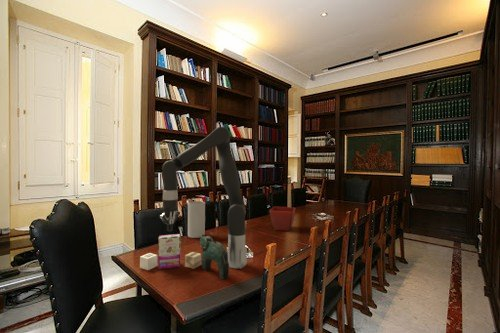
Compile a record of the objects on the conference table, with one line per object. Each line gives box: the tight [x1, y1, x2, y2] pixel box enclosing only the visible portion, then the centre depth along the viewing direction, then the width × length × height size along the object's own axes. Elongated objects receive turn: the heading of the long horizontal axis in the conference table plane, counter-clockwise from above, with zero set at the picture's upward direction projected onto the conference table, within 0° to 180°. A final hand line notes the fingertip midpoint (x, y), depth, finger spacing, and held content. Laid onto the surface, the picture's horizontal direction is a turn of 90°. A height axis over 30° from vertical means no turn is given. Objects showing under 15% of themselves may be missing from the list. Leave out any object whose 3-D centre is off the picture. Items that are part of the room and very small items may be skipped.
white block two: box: [139, 252, 158, 271], centre depth 131 cm, size 6×6×6 cm
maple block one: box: [184, 251, 202, 269], centre depth 133 cm, size 6×6×6 cm
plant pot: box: [269, 206, 296, 232], centre depth 208 cm, size 19×19×17 cm
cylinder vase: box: [187, 200, 206, 239], centre depth 186 cm, size 12×12×25 cm
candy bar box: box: [157, 233, 182, 270], centre depth 132 cm, size 11×5×16 cm, turn 105°
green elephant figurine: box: [199, 232, 230, 280], centre depth 125 cm, size 20×6×20 cm, turn 45°
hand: (169, 230), depth 131 cm, fingers closed
